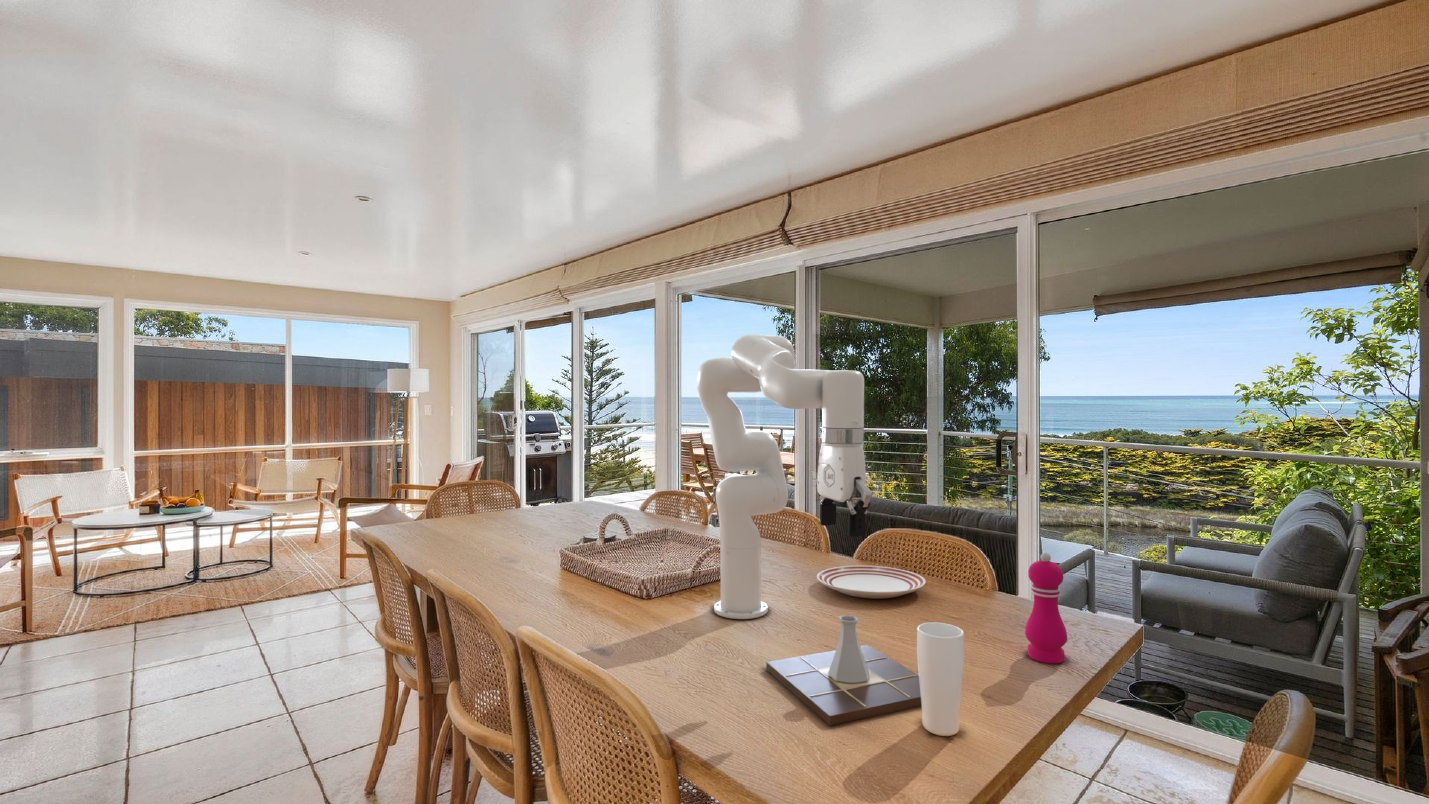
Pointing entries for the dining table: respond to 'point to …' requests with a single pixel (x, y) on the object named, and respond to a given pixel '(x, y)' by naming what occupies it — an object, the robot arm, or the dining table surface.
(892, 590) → the dinner plate
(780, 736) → the dining table surface
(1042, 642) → the pepper mill
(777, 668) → the board
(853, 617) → the flask
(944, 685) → the drinking glass
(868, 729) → the dining table surface
